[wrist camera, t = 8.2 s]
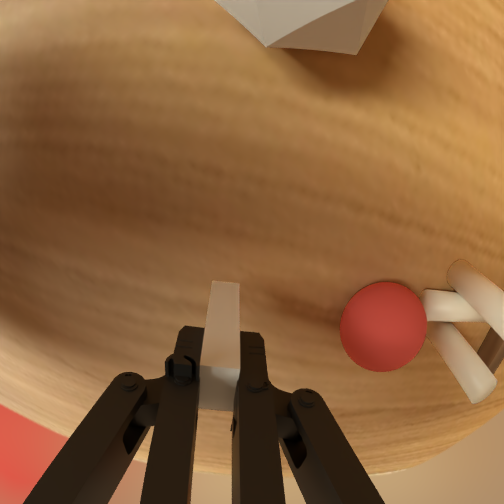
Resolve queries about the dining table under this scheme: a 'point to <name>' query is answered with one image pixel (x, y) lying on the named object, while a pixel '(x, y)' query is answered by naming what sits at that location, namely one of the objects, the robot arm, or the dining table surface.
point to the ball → (383, 326)
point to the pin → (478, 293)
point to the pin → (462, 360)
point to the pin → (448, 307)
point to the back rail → (492, 350)
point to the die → (308, 22)
